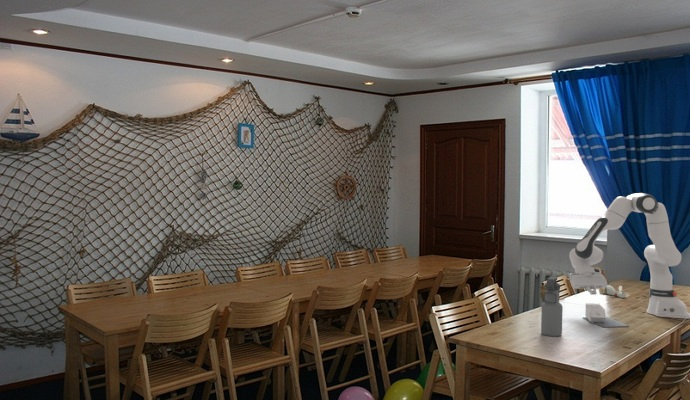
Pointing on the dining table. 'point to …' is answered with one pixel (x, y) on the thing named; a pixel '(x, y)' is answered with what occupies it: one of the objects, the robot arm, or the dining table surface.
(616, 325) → the mat
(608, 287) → the toy dog
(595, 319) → the milk carton
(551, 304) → the water bottle
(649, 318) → the dining table surface
